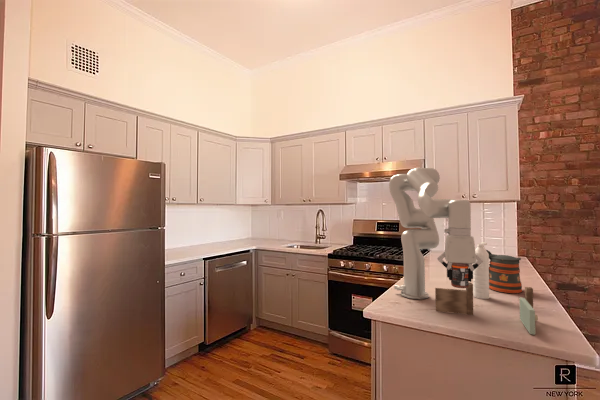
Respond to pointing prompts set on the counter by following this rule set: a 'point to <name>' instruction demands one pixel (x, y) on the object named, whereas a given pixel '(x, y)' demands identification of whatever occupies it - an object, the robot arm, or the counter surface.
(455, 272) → the supplement bottle
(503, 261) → the beer stein
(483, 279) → the water bottle
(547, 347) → the counter surface
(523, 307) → the door leaf
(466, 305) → the wall frame
